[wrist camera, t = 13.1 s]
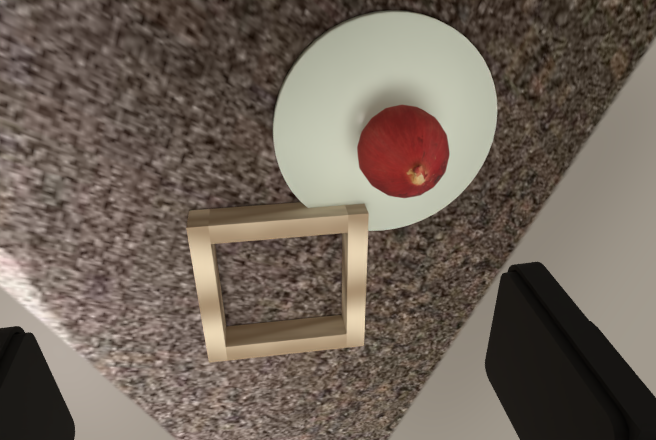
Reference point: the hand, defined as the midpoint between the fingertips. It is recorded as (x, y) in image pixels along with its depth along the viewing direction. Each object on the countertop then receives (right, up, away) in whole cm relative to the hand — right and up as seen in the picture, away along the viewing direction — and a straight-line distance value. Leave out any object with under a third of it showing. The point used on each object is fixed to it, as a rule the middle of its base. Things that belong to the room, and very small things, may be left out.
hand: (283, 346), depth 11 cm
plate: (+5, +9, +27) cm, 29 cm away
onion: (+5, +9, +26) cm, 28 cm away
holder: (-3, -2, +32) cm, 32 cm away
